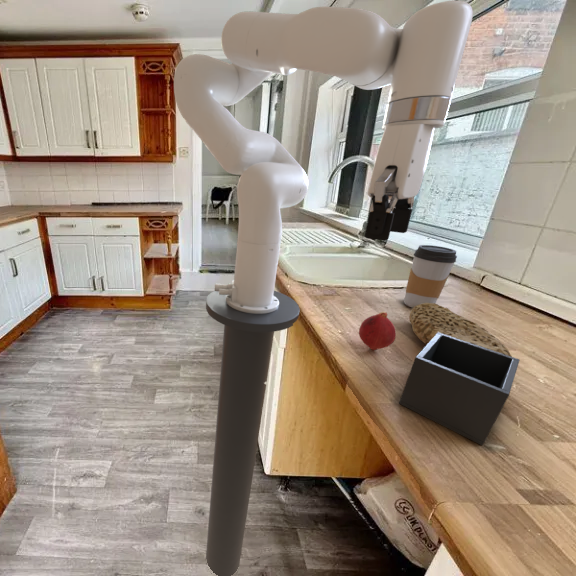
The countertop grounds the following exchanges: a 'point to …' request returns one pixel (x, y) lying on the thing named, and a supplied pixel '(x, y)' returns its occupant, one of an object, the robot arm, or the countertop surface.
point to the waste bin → (459, 385)
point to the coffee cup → (428, 274)
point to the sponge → (451, 327)
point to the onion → (377, 331)
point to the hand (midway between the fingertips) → (386, 235)
